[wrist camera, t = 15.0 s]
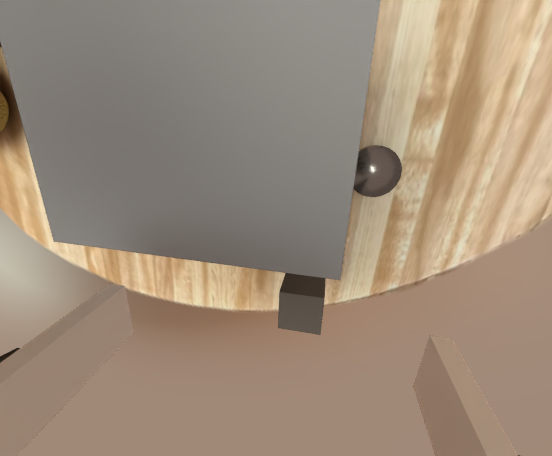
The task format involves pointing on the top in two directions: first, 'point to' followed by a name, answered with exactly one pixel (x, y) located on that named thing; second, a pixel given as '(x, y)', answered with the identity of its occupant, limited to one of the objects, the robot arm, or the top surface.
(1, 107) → the fruit
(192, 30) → the cabinet
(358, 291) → the top surface
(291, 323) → the scraper
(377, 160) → the steel puck
